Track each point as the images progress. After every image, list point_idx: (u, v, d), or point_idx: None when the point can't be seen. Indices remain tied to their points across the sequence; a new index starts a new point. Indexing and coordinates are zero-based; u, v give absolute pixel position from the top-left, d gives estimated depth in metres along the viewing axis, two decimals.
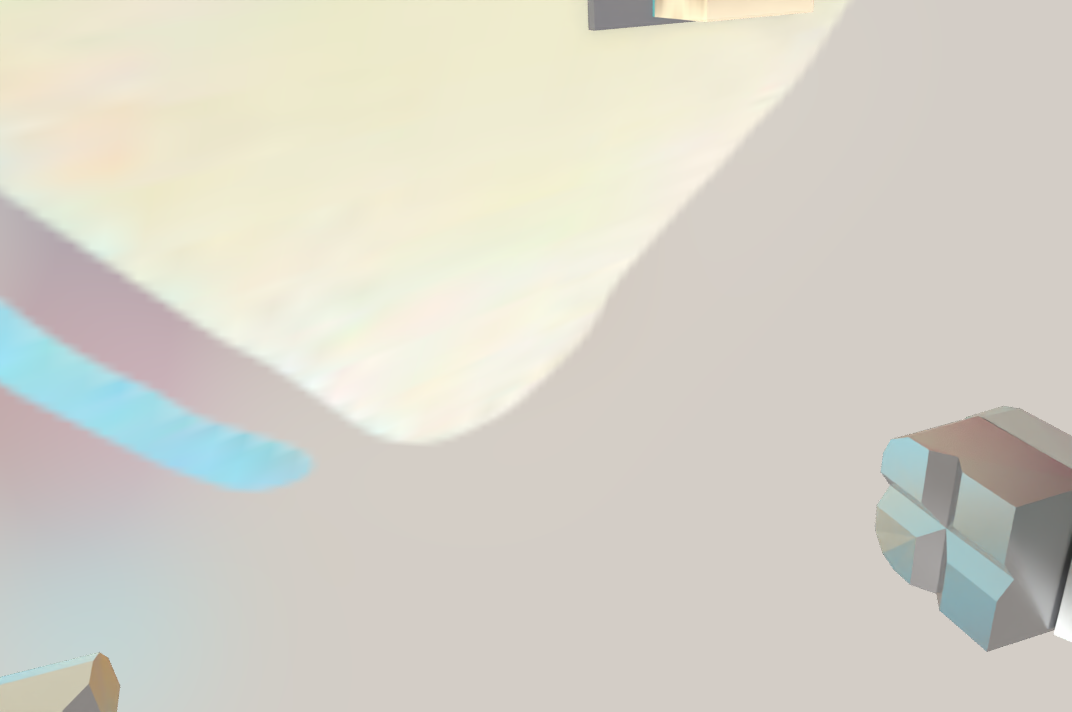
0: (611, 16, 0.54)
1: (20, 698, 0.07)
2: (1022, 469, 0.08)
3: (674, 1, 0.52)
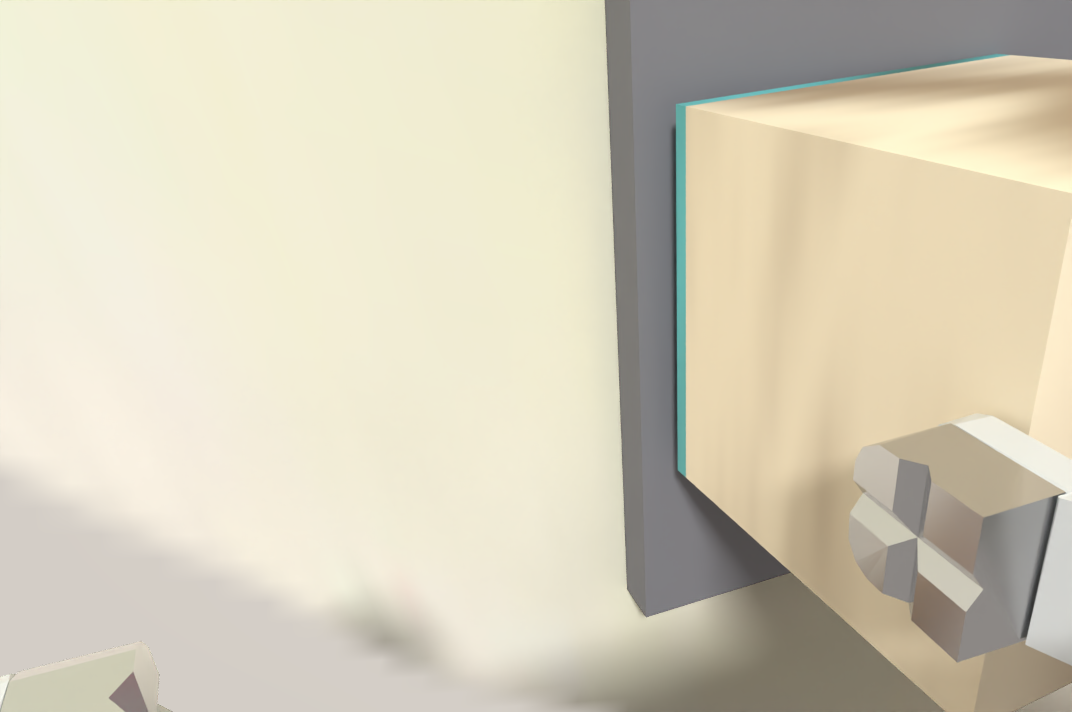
0: None
1: (66, 685, 0.07)
2: (992, 478, 0.08)
3: (854, 120, 0.12)
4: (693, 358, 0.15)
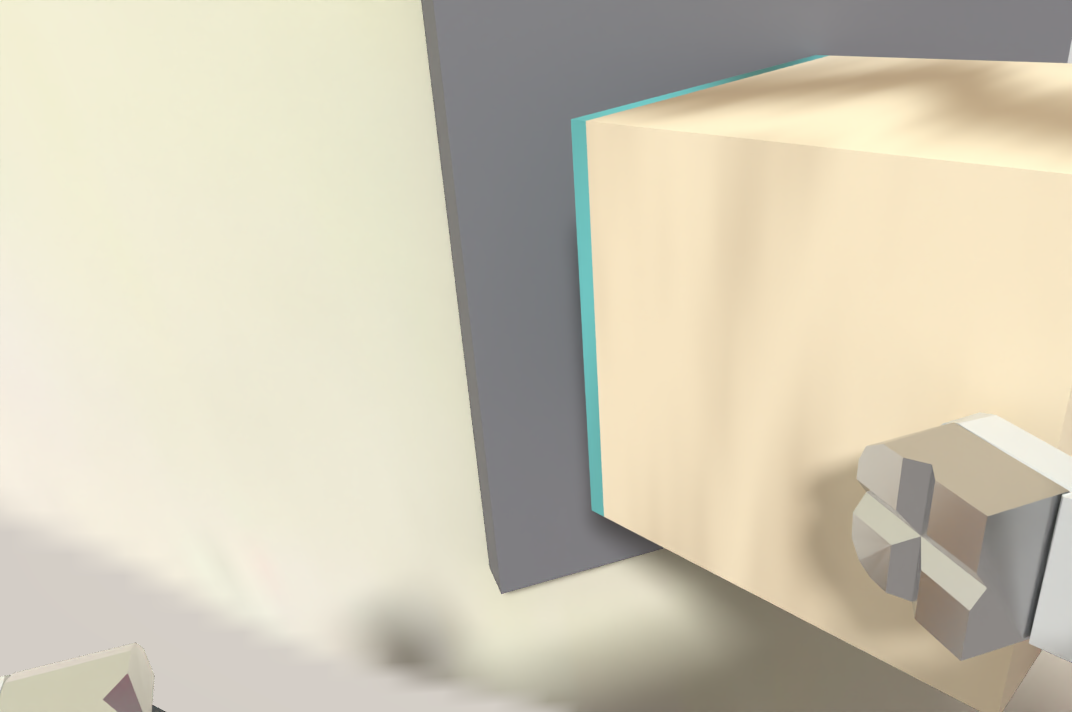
0: None
1: (60, 687, 0.07)
2: (995, 477, 0.08)
3: (787, 124, 0.11)
4: (609, 390, 0.14)
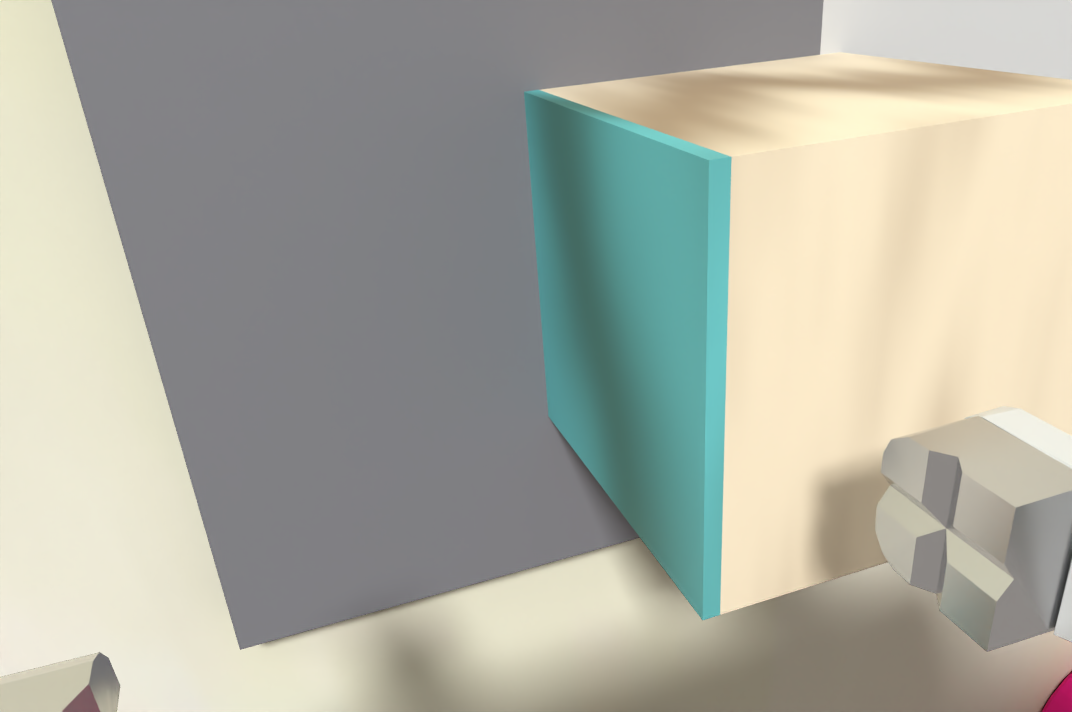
0: None
1: (20, 698, 0.07)
2: (1022, 469, 0.08)
3: (868, 116, 0.12)
4: (739, 463, 0.12)
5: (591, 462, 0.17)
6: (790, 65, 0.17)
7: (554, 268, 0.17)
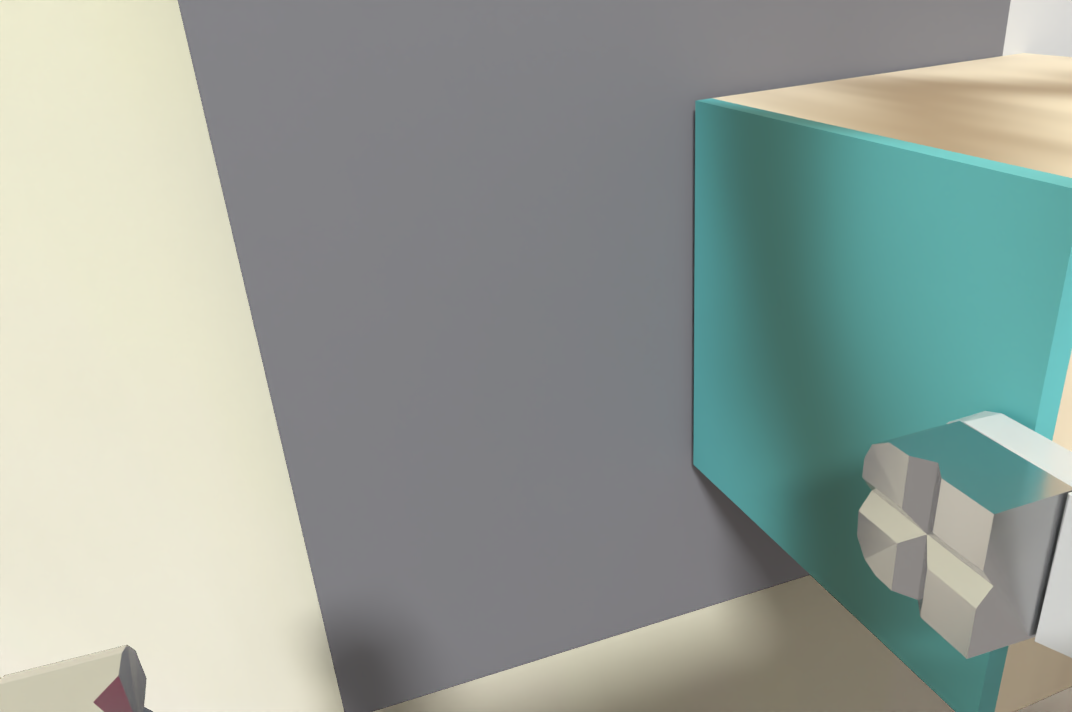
0: None
1: (50, 689, 0.07)
2: (1002, 475, 0.08)
3: None
4: None
5: (770, 524, 0.15)
6: (987, 68, 0.15)
7: (727, 303, 0.14)
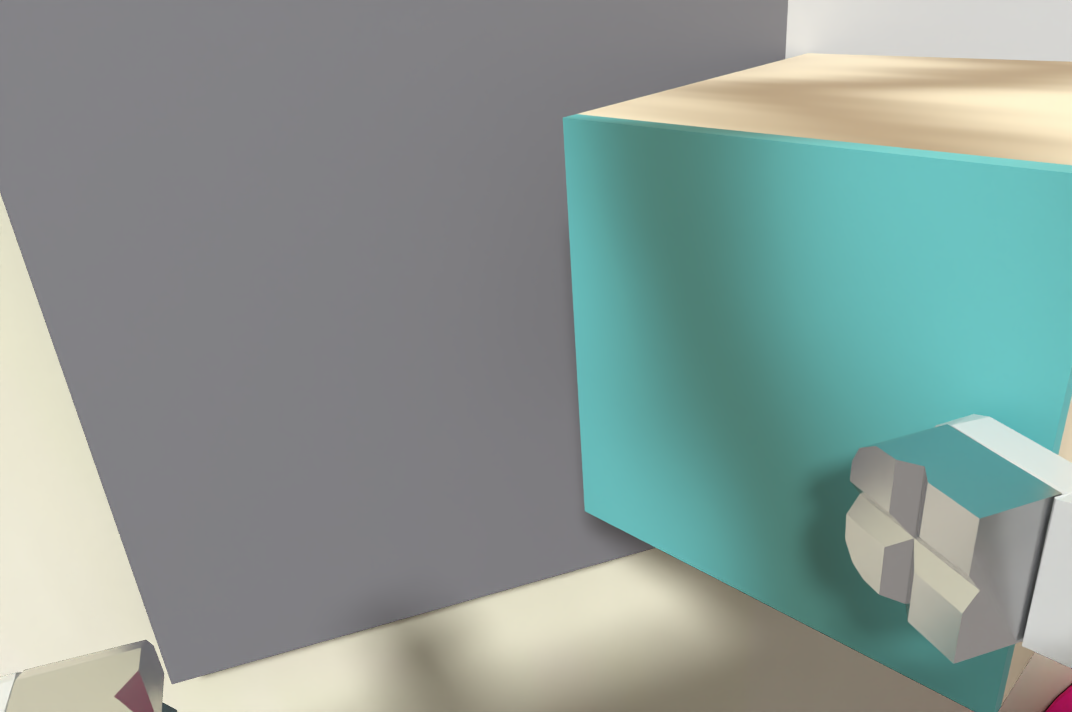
0: None
1: (72, 684, 0.07)
2: (988, 479, 0.08)
3: None
4: None
5: (702, 558, 0.14)
6: (802, 68, 0.15)
7: (625, 334, 0.13)
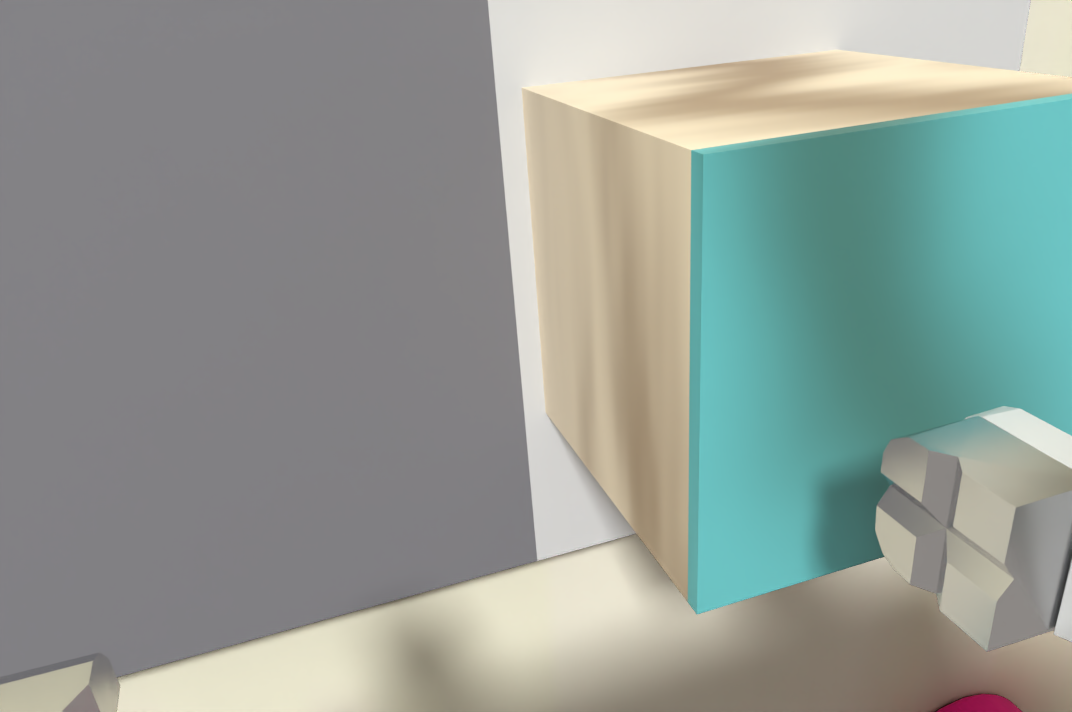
0: None
1: (20, 698, 0.07)
2: (1022, 469, 0.08)
3: (938, 73, 0.14)
4: None
5: (841, 556, 0.14)
6: (603, 93, 0.15)
7: (770, 377, 0.12)
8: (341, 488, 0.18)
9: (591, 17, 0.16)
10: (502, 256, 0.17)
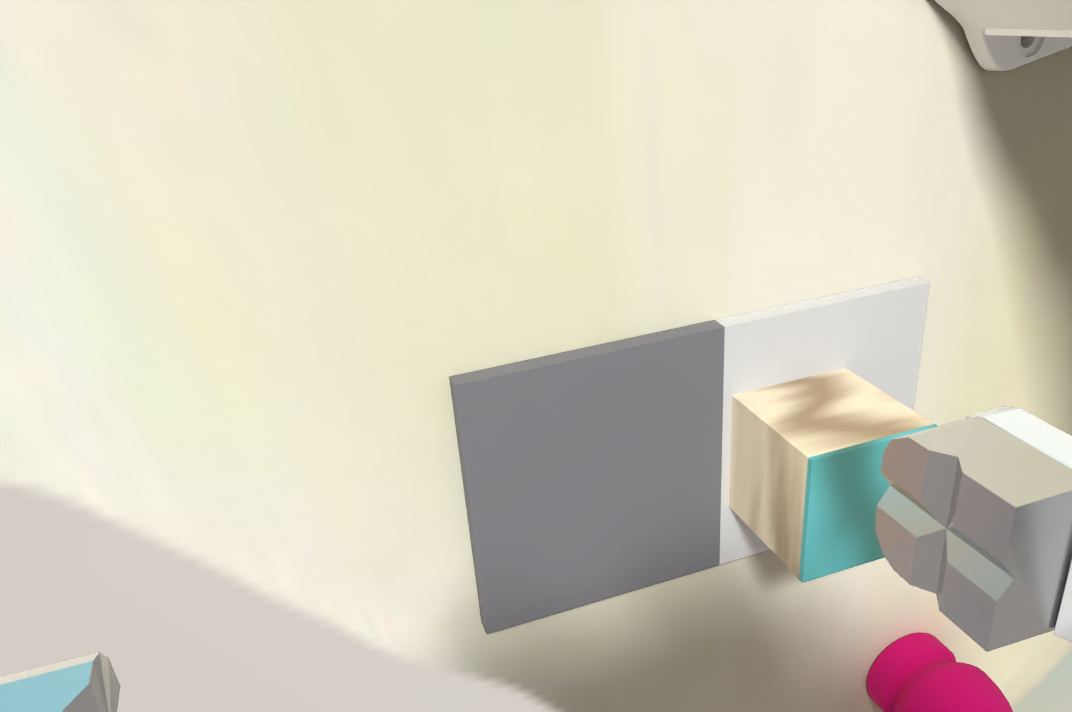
0: (472, 404, 0.40)
1: (19, 698, 0.07)
2: (1021, 469, 0.08)
3: (879, 403, 0.43)
4: None
5: (847, 564, 0.42)
6: (766, 406, 0.43)
7: (827, 513, 0.40)
8: (652, 537, 0.47)
9: (757, 370, 0.45)
10: (719, 450, 0.46)
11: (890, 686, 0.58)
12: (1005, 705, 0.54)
